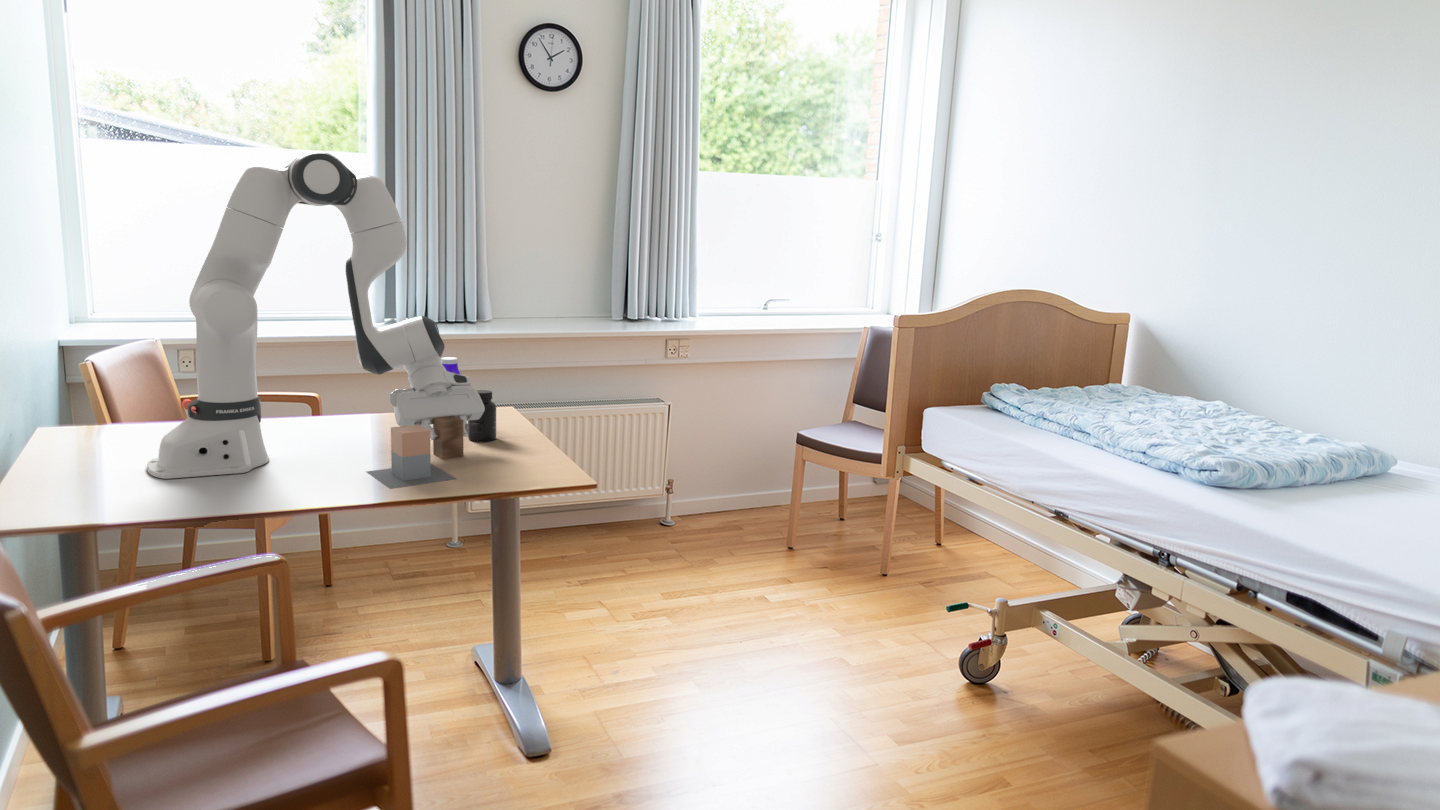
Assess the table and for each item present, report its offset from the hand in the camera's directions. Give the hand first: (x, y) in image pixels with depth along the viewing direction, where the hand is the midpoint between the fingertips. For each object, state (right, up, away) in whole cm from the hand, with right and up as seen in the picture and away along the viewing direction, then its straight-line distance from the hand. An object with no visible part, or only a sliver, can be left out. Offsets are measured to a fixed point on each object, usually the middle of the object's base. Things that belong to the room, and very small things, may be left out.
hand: (449, 436), depth 207 cm
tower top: (-3, -3, -16) cm, 17 cm away
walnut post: (-1, -5, +1) cm, 5 cm away
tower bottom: (-4, -8, -15) cm, 17 cm away
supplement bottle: (+2, -1, +19) cm, 20 cm away
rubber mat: (-4, -8, -15) cm, 17 cm away
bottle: (-10, +2, +34) cm, 35 cm away
